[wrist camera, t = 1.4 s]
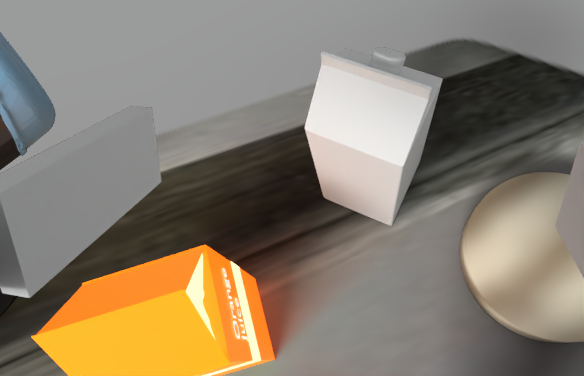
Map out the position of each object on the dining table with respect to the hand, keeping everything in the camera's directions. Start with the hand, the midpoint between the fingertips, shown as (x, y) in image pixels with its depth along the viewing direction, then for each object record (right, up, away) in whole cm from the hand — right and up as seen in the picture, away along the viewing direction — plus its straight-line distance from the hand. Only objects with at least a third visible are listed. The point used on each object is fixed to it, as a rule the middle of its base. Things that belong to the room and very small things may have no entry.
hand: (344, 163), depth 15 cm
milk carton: (+6, 0, +31) cm, 32 cm away
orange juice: (-8, -14, +28) cm, 33 cm away
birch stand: (+20, -7, +26) cm, 34 cm away
